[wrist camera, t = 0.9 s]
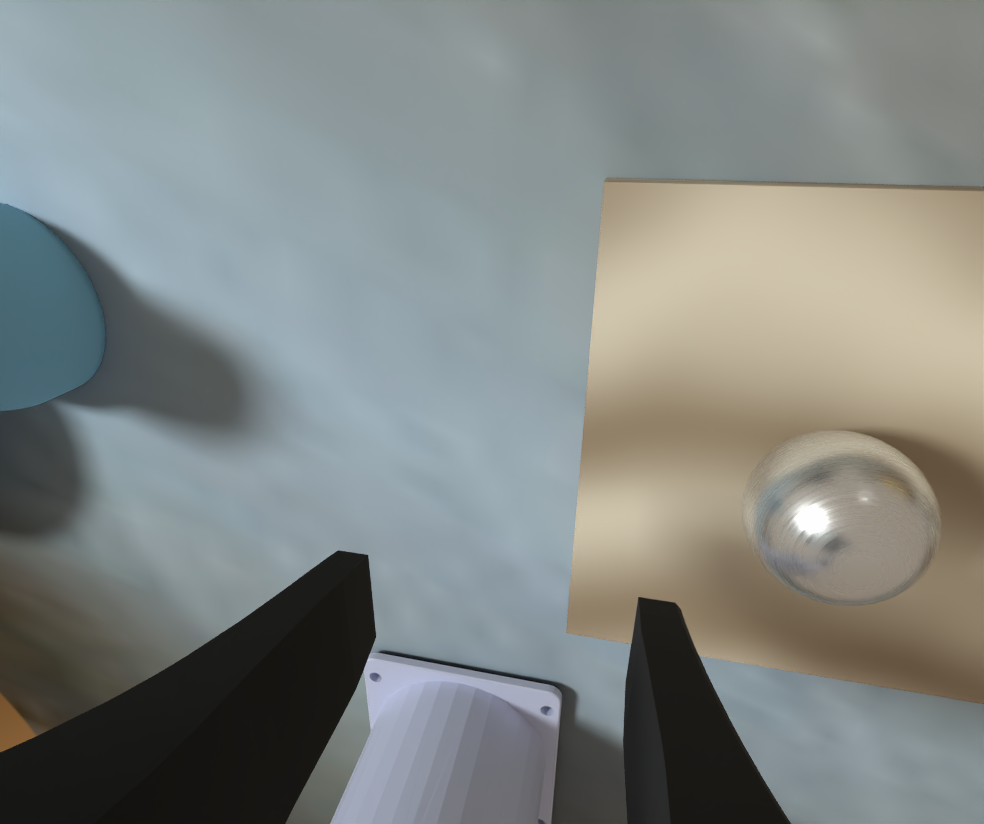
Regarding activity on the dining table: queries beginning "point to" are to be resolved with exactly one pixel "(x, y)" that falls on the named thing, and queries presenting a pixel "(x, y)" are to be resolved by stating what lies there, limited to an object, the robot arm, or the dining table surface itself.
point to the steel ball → (841, 518)
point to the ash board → (781, 412)
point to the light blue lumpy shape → (43, 315)
